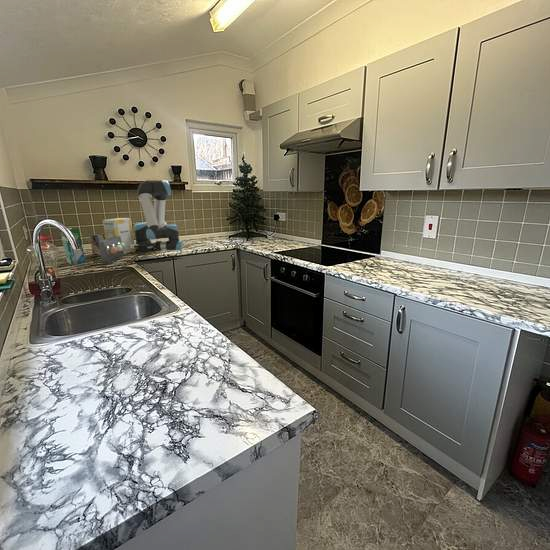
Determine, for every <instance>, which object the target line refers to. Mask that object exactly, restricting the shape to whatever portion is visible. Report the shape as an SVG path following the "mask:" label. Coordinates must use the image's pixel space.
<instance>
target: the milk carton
mask: <svg viewBox="0 0 550 550" xmlns="http://www.w3.org/2000/svg"><path fill="white" fill-rule="evenodd" d="M67 229H69V230H70V231H71V232H72V233H73V235H74V236H75V238H76V240H77V242H78V244H79V247H80V250H74V249H73V248H72V247H71V246H70V244H69V242H68V240H67V238H66V237H65V235H64V234H63V233H62V232H61V231H60V236H61V241H62V245H63V249H64V254H65V260H66V263H67V264H69V265H71V266H72V265H73V264H74V265H78V263H79V264H83V263H82V262H85V263H86V257H85V252H84V248H83V247H84V246H83V242H82V238H81V233H80V229H79V228H78V227H76V228H71V227H69V228H67ZM74 265H73V266H74Z"/></svg>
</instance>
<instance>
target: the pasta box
mask: <svg viewBox="0 0 550 550" xmlns="http://www.w3.org/2000/svg"><path fill="white" fill-rule="evenodd" d="M102 225H103V230H104V238H105V240H106V239H109V238H112V237H115V236H121V242H122V243H124V244H125V249H123V254H125V255H128V254H127V253H129V254H131V253H130V252H132V253H134V252H133V251H136V250H135V248H130V245H132V244H136V242H135V236H134V229H133V225H132V218H131V217H117V218H116V217H115V218H109V219H103V220H102ZM136 252H137V251H136Z"/></svg>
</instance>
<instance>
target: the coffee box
mask: <svg viewBox="0 0 550 550" xmlns="http://www.w3.org/2000/svg"><path fill="white" fill-rule="evenodd" d="M88 237H89V241H90V246H91V250H92V251H91V252H92V255H93V254H98V255H97V256H101V255H100V250H99V245H98V242H99V241H102V240H106V237H105V234H91V235H89V236H88Z"/></svg>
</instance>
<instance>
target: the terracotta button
mask: <svg viewBox="0 0 550 550" xmlns="http://www.w3.org/2000/svg"><path fill="white" fill-rule="evenodd" d="M110 253H111V254H113V253H117V248H116V247H111V248H110Z"/></svg>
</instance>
